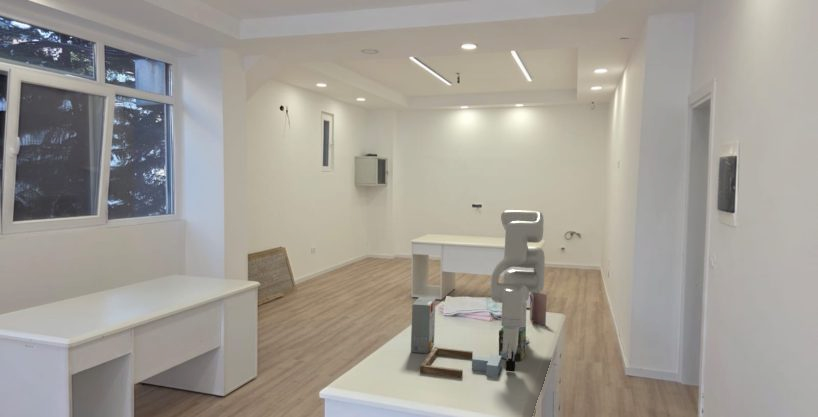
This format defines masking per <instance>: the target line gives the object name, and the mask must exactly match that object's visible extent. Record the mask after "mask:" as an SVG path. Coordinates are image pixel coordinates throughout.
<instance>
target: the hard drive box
mask: <svg viewBox="0 0 818 417" xmlns="http://www.w3.org/2000/svg"><path fill="white" fill-rule="evenodd" d="M435 319H436V297H423V296H419V297H418V298H417V299H416V300H415V301H414V302H413V304H412V305H411V333H410V334H411V335H410V352H411V353H420V354H430V352H431V349H432V347H433V346H434V344H435V331H436V330H435V328H436V324H435V323H436V320H435Z"/></svg>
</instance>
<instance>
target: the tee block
mask: <svg viewBox="0 0 818 417" xmlns="http://www.w3.org/2000/svg"><path fill="white" fill-rule="evenodd" d="M501 357H502V356H500V355H499V354H492V353H491V354H490V356H489V357H486V356H480V355H473V357H472V359H471V370H472V371H479V372H480V371H481V372H485V373H486V374H485V375H486V376H488V377H497V378H498V376H499V372H500V370H501V367H502V358H501Z"/></svg>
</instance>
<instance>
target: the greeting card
mask: <svg viewBox="0 0 818 417" xmlns="http://www.w3.org/2000/svg"><path fill="white" fill-rule="evenodd" d="M533 292H534V291H533ZM529 298H530V300H529V321H530V323H531V325H532V326H534V323H533V322H536V323H538V322H539V324H542V325H544V326H546V322H547V320H546V319H547V318H546V317H547V294H544V293H542V292H539V293H532V292H529ZM533 320H534V321H533Z"/></svg>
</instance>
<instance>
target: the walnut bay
mask: <svg viewBox="0 0 818 417" xmlns="http://www.w3.org/2000/svg"><path fill="white" fill-rule="evenodd" d="M437 356H447V357H455V358H463V359H471V360H472V358H473V357H474V355H473V351H472V350H463V349H455V348H447V347H444V348H443V347H437V346H434V348H433V349H432V350H431V351H430V352H429V353H428V355H427V357H426V358H425V359H424V360H423V362H422V363H421V365H420V366H419V373H420V374H425V375H426V374H428V375H433V376H434V375H435V376H442V377H450V378H458V379H462V378H463V377H464V376H463V375H464V374H463V373H464V372H463V369H459V368H451V367H450V368H449V367H444V366H437V365H436V366H435V365H431V364H432V363H433V362H434V360H436V358H437Z"/></svg>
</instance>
